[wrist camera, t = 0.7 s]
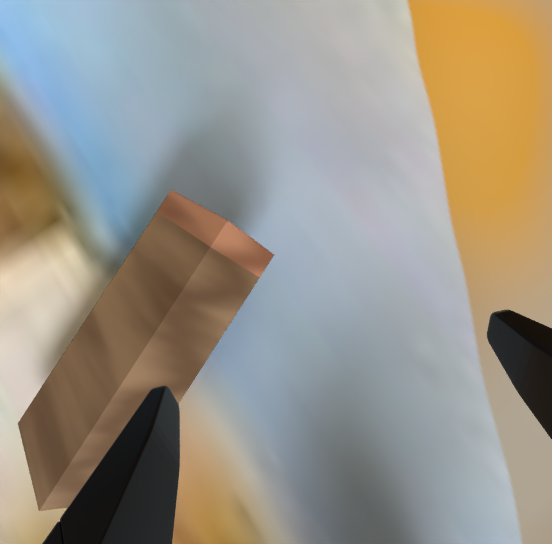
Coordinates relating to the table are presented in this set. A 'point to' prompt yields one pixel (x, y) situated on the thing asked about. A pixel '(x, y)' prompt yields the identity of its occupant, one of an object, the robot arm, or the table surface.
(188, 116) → the table surface
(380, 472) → the table surface
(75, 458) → the walnut pillar
